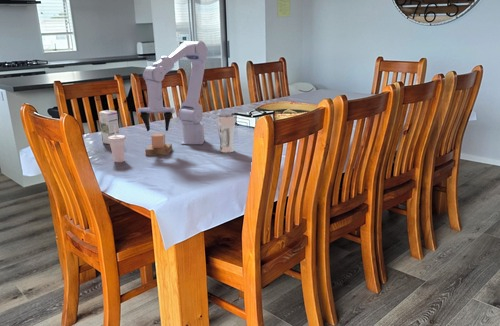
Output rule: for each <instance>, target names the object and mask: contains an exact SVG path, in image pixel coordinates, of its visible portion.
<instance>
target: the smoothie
mask: <svg viewBox="0 0 500 326" xmlns="http://www.w3.org/2000/svg"><path fill="white" fill-rule="evenodd" d="M114 132H115V135H113V136H109V137H108V140H109V142H110V145H109V146H110V150H111V154H112V158H113V162H114V163H122V162H123V163H124V162H125V142H126V141H125V140H126V135H123V134H119V135H116V127H115V125H114Z"/></svg>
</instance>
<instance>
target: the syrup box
mask: <svg viewBox="0 0 500 326" xmlns="http://www.w3.org/2000/svg"><path fill="white" fill-rule="evenodd" d="M98 114H99V124H100V125H99V126H100V131H101V140H102V144H105V145H108V146H110V142H109V140H108V137H109V136H113V135H115V132H114V125H115V127H116V135H120V128H119V119H118V118H119V117H118V116H119V115H118V111H117V110H110V109H106V110H104V109H103V110H101V111H99V112H98Z"/></svg>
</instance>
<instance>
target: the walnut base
mask: <svg viewBox="0 0 500 326" xmlns="http://www.w3.org/2000/svg"><path fill="white" fill-rule="evenodd" d="M165 144H166V145H165V146H164V148H152V143H150V144H149V145H148V146H147V147H145V153H144V154H145V156H169V154H170V153H171V152H172V150H173V145H172V143H165Z"/></svg>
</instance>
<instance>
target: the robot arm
mask: <svg viewBox="0 0 500 326" xmlns="http://www.w3.org/2000/svg"><path fill="white" fill-rule="evenodd" d="M207 55H208V48H207V45H206V43H205V42H204V41H202V40H200V41H199V40H198V41H195V40H194V41H191V40H184V41H183V42H181V43H180V44H179V47H177V48H176V49H175V51H173V52H172V53H171V54H170V55H162V56H161V57H160V59H159V60H158V61H156V62H153V63H152V65H151V66H147V67H145V68H144V71H143V73H142V78H143V80H144V81H145V85H146V89H147V90H146V91H147V100H148V102H147V104H148V106H147V107H138V108H137V114H139V116H140V118H141V120H142V121H143V123H144V126H145V128H146V131H147V132H149V131H150V130H151V126H150V114H163V117H164V124H165V127H164V129H165V132H168V131H169V126H170V122H171V118H172V115H173V114H175V107H167V106H164V102H163V101H164V99H163V86H162V85H163V84H162V81H164V79H165V75H166V74H168V73H169V72H170V71H171V70H172V69H174V68H175V64H176V63H178V61H180V60H181V59H183V58H186V59H187V60H188V61H189V62H190V63H191V65H192V66H191V72H190V77H189V83H188V88H187V94H186V98H185V99H186V100H184V101H183V102H182V103H181V104H180V107H179V109H178V113H177V116H178V119H179V120H180V123H182V124H181V125H182V141H181V143H180V144H181V145H203V144H204V142H205V125H204V122H202V119H203V106H202V105H201V104H200V103H199V101H200V96H201V91H202V85H203V80H204V75H205V68H206V64H207V63H206V61H207Z"/></svg>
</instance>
